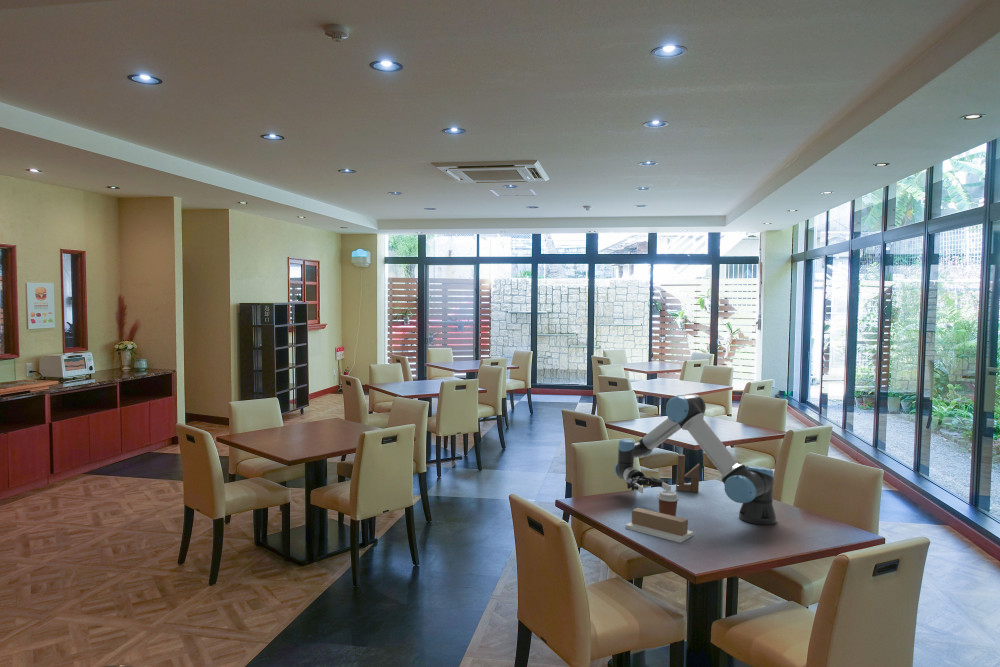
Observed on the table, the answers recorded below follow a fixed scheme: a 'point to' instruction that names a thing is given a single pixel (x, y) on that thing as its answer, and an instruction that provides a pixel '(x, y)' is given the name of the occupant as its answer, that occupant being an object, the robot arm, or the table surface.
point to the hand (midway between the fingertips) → (656, 489)
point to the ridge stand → (659, 525)
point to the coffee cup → (668, 502)
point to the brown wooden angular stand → (687, 476)
